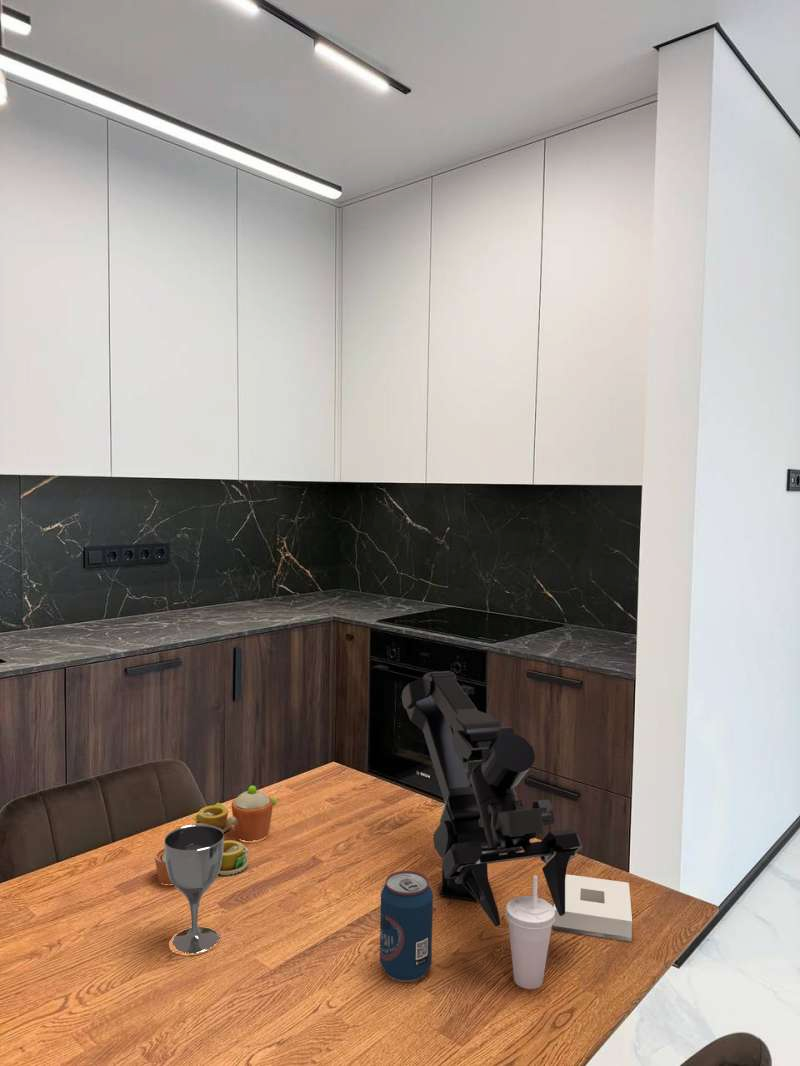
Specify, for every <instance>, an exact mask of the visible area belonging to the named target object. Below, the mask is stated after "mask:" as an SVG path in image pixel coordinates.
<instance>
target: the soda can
mask: <svg viewBox="0 0 800 1066" xmlns="http://www.w3.org/2000/svg"><path fill="white" fill-rule="evenodd" d="M431 888H432V887H431V886H430V880H429V879H428V877H427V876H426V875H425V874H423V873H420V872H418V871H412V870H399V871H395V872H392V873H391V874H389V875H387V877H386V879H385V884H384V885H383V888H382V889H381V892H380V916H379V917H380V921H379V922H380V926H379V927H380V928H379V932H380V933H379V963H380V965H381V967H382V969H383V970H384V972H385V974H386V975H387V976H388V977H389V978H390V979H392V980H394V981H397V982H402V983H411V982H415V981H418V980H421V979H422V978H423V977H424V976H425V975H426V974H427V973H428V971H429V969H430V967H431V966H432V961H433V923H434V922H433V921H434V919H433V918H434V917H433V915H434V914H433V913H434V911H433V910H434V909H433V907H434V894H433V890H432V889H431Z"/></svg>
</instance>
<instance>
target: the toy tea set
mask: <svg viewBox="0 0 800 1066" xmlns="http://www.w3.org/2000/svg"><path fill="white" fill-rule="evenodd" d="M277 801H278V800H277V799H276V798H275V797H270V796H269V795H266V793H264V792H262V791H260V790H257V787H256V786H255V785H250V786H249V787H248V789H247V791H246V790H245V791H243V792H242V793H240V794H239V795H238V796H237V797H236V798H235V799H233V800H232V802H231V812H232V816H230V817H229V818H228V815H229V809H228V808H227V807H226V806H224V805H223V804H222V803H221V802H217V803H214V805H207V806H204V807H202V808H200V810H199V811H198V812H197V813H196V814H194V815H193V816H192V819H193V820H194V822H195V823H191V824H186V826H188V825H196V824H206V825H212V826H215V827H218V828H220V829H221V830H222V831H223V834H224V832H225V833H227V832H228V831H229V830H231V828H232V826H234V831H235V837H237V838H238V839H241V840H245V841H253V840H259V839H262V838H264V837H265V836H267V835H268V836H269V834H268V833H270V826H271V822H272V813H273V807H275V806H276V805H277V803H278V802H277ZM226 831H227V832H226ZM237 838H236V839H237ZM248 853H249V848H248V847H246V846H245V845H244V843H243V842H240V841H239V840H232V839H231V840H230V839H229V840H224V848H223V858H222V863H221V867H220V871H219V874H220V876H231V874H232V875H236V874H238V872H239V873H241V872H243V871H244V870H246V869H247V867H249V858H248V857H247V854H248ZM154 861H155V866H156V872H157V878H158V882H159V883H160V882H161V883H163V884H168V885H169V884H173V883H172V882H171V881H170V878H169V875H168V872H167V868H166V862H165V847H163V848H161V849H159V850H158V851H157V852H155V854H154ZM245 868H246V869H245ZM242 870H243V871H242ZM235 873H236V874H235ZM161 883H160V884H161Z"/></svg>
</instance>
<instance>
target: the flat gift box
mask: <svg viewBox="0 0 800 1066" xmlns="http://www.w3.org/2000/svg"><path fill="white" fill-rule="evenodd" d="M630 893H631V892H630V882H626V881H618V880H612V879H611V880H610V879H604V878H597V877H596V878H595V877H588V876H583V875H582V876H581V875H574V874H567V873H566V878H565V914H564V915H563V916H560V915H559V913H558V911H557V909H556V907H555V905H554V904H553V908H554V910H555V921H554V923H553V924H552V931H560V932H565V933H573V934H579V935H585V936H591V937H598V938H604V939H605V938H606V939H612V940H617V939H618V941H624V942H625V941H626V942H630V943H631V942H632V937H633V936H632V935H633V917H632V916H633V915H632V905H631V894H630Z"/></svg>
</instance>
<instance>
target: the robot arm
mask: <svg viewBox="0 0 800 1066" xmlns="http://www.w3.org/2000/svg"><path fill="white" fill-rule="evenodd" d="M401 692H402V693H401V701H402V703H401V704H402V706H403V708H404V709H405V710H406V713H407V715H408V718H409V720H410V722H411V723H413V725H415V726H416V727H417V728H419V730H421V731H422V733H423V734H424V735H423V736H424V739H425V742H426V745H427V746H426V747H427V749H428V751H429V756H430V758H431V762H432V765H433V769H434V772H435V775H436V779H437V781H438V782H437V783H438V785H439V788H440V792H441V796H442V799H443V802H444V806H443V809H442V813H441V816H440V820H439V823H440V824H439V825H438V826H437V828H436V830H435V831H434V832H433V836H432V837H433V848H434V850H435V852H437V854H438V855H439V856H440V858H441V859H442V862H441V863H442V868H441V871H442V872H441V886H440V888H439V896H441V897H446V898H453V899H460V900H466V901H475V902H477V903H478V904H479V905H480V907H481V908H482V910H483V911H484V913H485V914H486V915H487V917H488V918H489V920H490V921H491V923H492V924H493V925H494V926H495V927H496V928H497V927H500V926H501V919H500V914H499V910H498V906H497V903H496V900H495V897H494V894H493V891H492V886H491V884H490V881H489V880H490V879H489V874H488V865H489V864H495V863H496V864H498V863H503V862H510V861H518V860H526V859H532V858H540V860H541V861H542V862H543V863H545V865H544V866H543V867H542V868H541V869H542V873H543V875H544V880H545V881H546V883H547V887H548V889H549V890H548V891H549V892H550V897H551V898H552V901H553V906H554V905H555V907H556V909H557V911H558V913H559V915H560V916H563V915H564V914H565V878H566V874H567V868H568V865H569V863H570V862H571V861H572V860H573V859H574V858H575V856H576V854H578V853H579V851H581V850H582V849H583V844H582V842H581V839H580V836H579V834H577V832H576V831H574V829H572V828H569V829H562V830H561V829H559V830H555V831H554V830H553V831H549V832H548V833H547V834H546V835H545V837H544V838H542V840H541V841H534V842H533V841H531V840H534V839H535V838H536V837H537V835H539V834H545V833H546V830H545V826H548V825H554V824H555V820H556V819H555V813H554V812H555V811H554V809H553V806H552V804H551V801H550V799H540V800H534V801H533V802H532V808H529V809H526V807H525V803H524V802H523V800H522V799H521V800H518V798H517V793H516V791H515V788H516V787H517V786H518V784H519V783H520V782H521V781H522V779H523V778H524V776H526V774H527V773H528V772H529V770H530V769H531V767H533V765H534V762H535V757H536V754H535V750H534V747H533V746H532V745H531V744H530V743H529V742H528V741H527V739H525V738H524V737H523V736H521V735H519V734H516V733H515V730H514V728H513V727H512V726H507V727H506V726H504V727H503V725H502V723H501V722H500V721H499V720H498V719H496V718H495V717H494V716H493V714H492V715H491V714H489V713H486V712H484V711H480V710H478V709H477V706H475V704H474V702H472V700H471V698H470V697H469V696H468V694H467V693H466V692H465V690H464V689H463V688H462V687H461V685H460V684H459V683H458V679H457V675H456V674H455V672H454V671H450V670H445V671H430V672H428V673H425V674H424V675H423V676H422V677H421V678H417V679H415V680H413V681H410V682H408V683H407V685H406V686H405V687H404V688H403V690H402V691H401ZM474 762H480V763H479V764H477V765H476V766H475V767H473V768H472V770H471V772H470V774H469V778H468V775H467V773H466V772H467V771H466V769H465V767H464V763H474Z"/></svg>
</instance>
